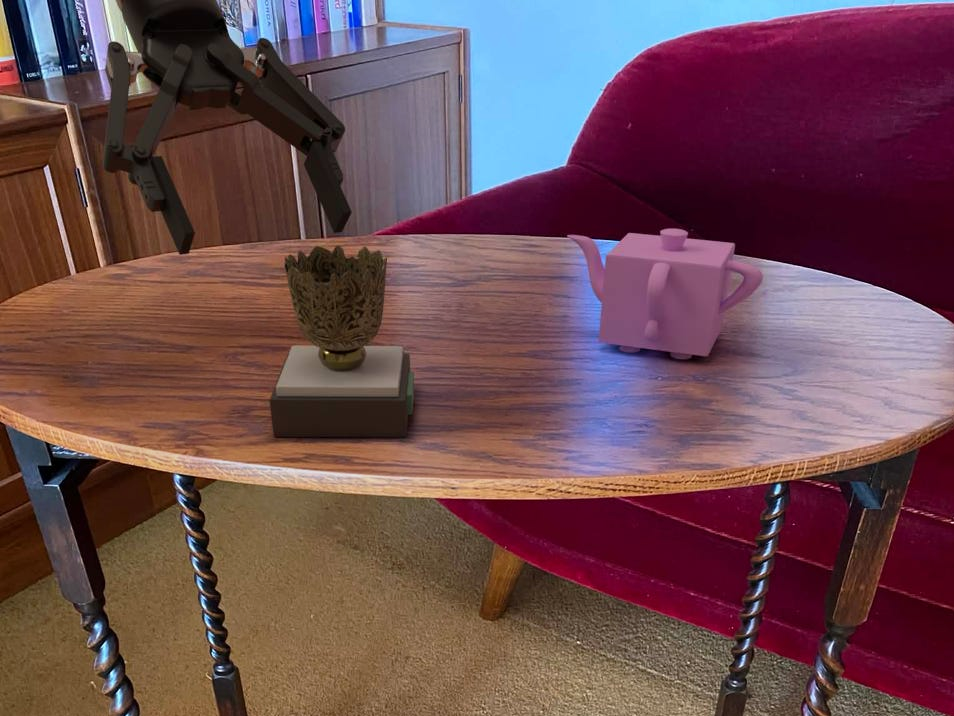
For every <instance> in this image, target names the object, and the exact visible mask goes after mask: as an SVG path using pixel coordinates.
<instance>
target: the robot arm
mask: <svg viewBox="0 0 954 716" xmlns="http://www.w3.org/2000/svg"><path fill="white" fill-rule="evenodd" d="M115 3H116V5H117V7H118V9H119V10H120V12H121V14H122V15H121V16H122V19H123V21H124V24H125V27H126V29H127V31H128V34H129V35H130V38H131V39H132V42H133V44H134V46H135V49H136V51H126V50H125V47H124V45H123V44H121V43H120V42H119V41H110V42H108V44H107V51H106V58H105V68H104V71H105V75H106V79H107V81H108V84H109V88H110V96H109V97H110V98H109V105H108V114H107V122H106V130H105V139H104V147H103V155H102V163H101V164H102V168H103V169H104V171H106V172H107V173H110V174H116V173H118V172H119V171H121V172H124V173H125V172H126V173H127V179H128V181H129V182H130V183H131V184H133V185H135V186H137V187H138V190H139V192H140V194H141V196H142V199H143V201H144V203H145V206H146V207H147V209H148V210H149V211H150V212H151V213H156V212H160V214H161V215H162V218H163V220H164V223H165V225H166V227H167V229H168V231H169V234H170V236H171V238H172V241H173V243H174V246H175V248H176V250H177V252H178V254H179V256H181V255H182V256H183V255H189V254H190V253H191V252H190V251H191V249H192V244H193V241H194V237H195V235H196V232H195V229H194V227H193V225H192V222H191V220H190V217H189V216H188V214H187V211H186V209H185V206H184V204H183V202H182V200H181V198H180V195H179V193H178V191H177V190H178V189H177V188H176V186H175V184H174V181H173V179H172V177H171V175H170V172H169V170H168V167H167V165H166V163H165V161H164V159H163V156H162V155H157V156H155V153H156V152H157V149H158V147H159V145H160V143H161V140H162V138H163V137H164V134H165V132H166V130H167V127H168V125H169V123H170V120H172V118H173V116H174V114H175V112H176V110H177V108H178V105H181V106H184V107H186V108H188V110H189V111H199V110H201V109H205V108H211V109H226V107H227V106H228V107H230V108H231V109H233V110H234V111H235V112H237V114H240V115H243V116H245V115H248V116H250V117H251V118H252V119H253V120H255V121H256V122H258V123H259V124H261V125H262V126H264V128H267V129H268V130H269V131H271V132H272V133H274V134H275V135H276V136H278V137H279V138H280V139H282V140H283V141H285V142H286V143H288V144H289V145H290V146H292V147H293V148H294V149H296V150H297V151H299V152H300V153H301V154H303V155H305V156H306V158H305V160H304V163H303V166H304V169H305V171H306V173H307V175H308V178H309V180H310V182H311V184H312V187H313V189H314V192H315V193H316V194H315V195H316V196H317V198H318V200H319V202H320V204H321V207H322V209H323V212H324V214H325V216H326V218H327V220H328V222H329V225H330V227H331V230H332V232H333V234H336V233H338V234H339V233H342V232H343V231H344V229H345V227H346V225H347V223H348V221H349V219H350V217H351V215H352V213H353V212H352V208H351V207H350V205H349V202H348V200H347V197H346V196H345V193H344V191H343V189H342V187H341V186H342V184H343V181H344V173H343V171H342V169H341V166H340V164H339V162H338V160H337V158H336V155H335V153H336V152H337V150H338V148H339V145H340V143H341V141H342V139H343V136H344V135H345V133H346V127H345V125H344V123H342V121H340V119H339V118H338V117H337V116H336V115H335V114H334V113H333V112H332V111H331V110H330V109H329V108H328V107H327V106H326V105H325V104H324V103H323V102H322V101H321V100H320V99H319V97H317V96H316V95H315V94H314V93H313V91H312V90H311V89H309V87H307V85H306V84H305V83H303V81H302V80H301V79H300V78H299V77H298V76H297V75H296V74H295V73H294V72H293V70H291V69H290V68H289V67H288V66H287V65H286V64H285V63H284V62H283V61H282V59H281V57H280V56H279V54H278V52H277V51H276V49H275V48H274V45H273V43H272V42H271V41H270V39H268V38H265V37H260V38H259V39H258V40H257V43H256V46H253V47H246V48H240V46H239V45H238V44H237V43H235V42H234V39H232V38H231V36H230V33H229V30H228V25H227V22H226V20H225V15H224V14H223V11H222V10H221V7H220V4H219V2H218V0H115ZM140 73H142V75H143V76H144V77H145V78H146V80H148V81H149V82H151V83H152V84H153V85H155V86H156V87H157V88H158V92H157V93H156V96H155V98H154V100H153V102H152V105H151V107H150V108H149V111H148V114H147V115H146V117H145V119H144V122H143V124H142V126H141V128H140V131H139V132H138V135H137V137H136V138H135V141H134V143H133V145H132V146H131V145H128V144H124V138H125V137H124V136H125V130H126V129H125V128H126V121H127V120H126V118H127V109H128V102H129V93H130V87H131V86H132V84H134V83H135V82H136V81H137V78H138V74H140ZM239 83H240V84H241V86H242V90H241V93H240V94H239V93H238V92H236V91H237V88H238V85H239Z"/></svg>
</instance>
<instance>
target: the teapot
mask: <svg viewBox="0 0 954 716" xmlns="http://www.w3.org/2000/svg"><path fill="white" fill-rule="evenodd" d="M688 235H689V232H688V231H686V230H684V229H680V228H664V229H662V230H660V235H655V234H643V233H634V232H628V233H627V234H626V235H625V236H624V237H623V238H622V239H620V241H619V242H618V243H617V244H616V245H615V246H613V248H612V249H611V250H610V251H609V252H607V254H606V255H605V259H604V260H605V263H604V264H603V261H602V257H601V253H600V250H599V247H598V246H597V244H596V243H595V241H594V240H593V239H592V238H591V237H588V236H584V235H579V234H567V235H566V236H567V238H568V239H570V240H572V241H573V242H574V243H575V244H577V245H578V246H579V247H580V249H581V250H582V252H583V255H584V258H585V261H586V265H587V269H588V270H587V271H588V279H589V282H590V286H591V289H592V292H593V294H594V295H595V297H596V299H597V300H598V301H599V302H600V303H601V308H600V319H599V329H598V330H599V332H598V341H597V342H598V343H602V344H610V345H616V346H619V350H620V351H621V352H624V353H638V352H640V351H641V349H647V350H655V351H662V352H669V356H670V357H671V358H673V359H676V360H689V359H691V358H692V357H693V356H694V355H695V356H701V357H709V355H710V353H711V351H712V349H713V346H714V344H715V343H716V341H717V339H718V337H719V334H720V332H721V331H722V328H723V322H724V318H725V312H726V311H728V310H731V309H732V308H733V307H735V306H737V305H738V304H740V303H742V302H743V301H745V300H746V299H748V298H749V297H750V296H752V295H753V294H754V293H755V292H756V291H757V290H758V289H759V287H760V286H761V284H762V282H763V279H764V275H763V272H762V271H761V269H760V268H758V267H756V266H754V265H752V264H749V263H746V262H742V261H737V260H734V255H735V248H736V244H735V243H734V242H725V241H718V240H717V241H716V240H706V239H696V238H688ZM732 272H734V273H738V274H740V275H741V276H742V277H743V279H742V282H741V284H740V285H739V286H738V287H737V288H736V289H735V290H734V292H733V293H731V295H730V296H728V292H729V286H730V281H731V280H730V279H731V273H732Z"/></svg>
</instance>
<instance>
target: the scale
mask: <svg viewBox="0 0 954 716" xmlns="http://www.w3.org/2000/svg"><path fill="white" fill-rule="evenodd" d="M364 348H365V351H366V358H365V360H364V362H363V364H362V365H361V366H359V367H357V368H354V369H350V370H333V369H329V368H327V367H325V366H324V365H322V363H321V361H320V359H319V357H318V352H319V347H317V346H315V345H292V346H291V348H290V350H289V352H288V353H287V355H286V357H285V360H284V363H283V364H282V367H281V369H280V372H279V375H278V377H277V380H276V383H275V385H274V387H273V390H272V393H271V395H270V398H269V400H268V401H269V407H270V408H269V410H270V416H271V423H272V433H273V437H274V438H407V434H408V433H407V432H408V421H409V415H413V411H414V398H415V372H414V371H411V356H410V355H411V354H410V353H404V346H402V345H365V346H364Z"/></svg>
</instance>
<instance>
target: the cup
mask: <svg viewBox="0 0 954 716" xmlns="http://www.w3.org/2000/svg"><path fill="white" fill-rule="evenodd" d="M357 253H358V254H357V256H356V258H355V257H354V255H350V256H349V255H347V257H346V255H345V249H344V248H343V247H341V246H340V245H336V246H334V248H333V249H332V251H331V250H330V249H328V248H325V247H323V246H319V245H315V246H314V247H313V248H312V250H311V251H310V253H309V254H308V255H307V254H306V253H305V252H303V251H301V249H299V250H298V251H297V259H296V256H294V255H293V254H289V255H287V256H285V257H284V263H283V264H284V265H283V267H284V271H285V274H286V279H287V284H288V290H289V294H290V299H291V304H292V308H293V311H294V315H295V319H296V322H297V325H298V328H299V330H300V331H301V333H302V335H303V336H304V337H305V339H306V340H307V341H308V342H309V343H310V344H312V346H317V347H319V352H318V357H319V359H320V361H321V363H322V365H324V366H325V367H327V368H329V369H333V370H350V369H354V368H357V367H359V366H361V365H362V364H363V362H364V360H365V358H366V351H365V348H364V346H368V345H369V343H371V342H372V341H373V340H374V339H375V338H376V336H377V335H378V333H379V330H380V328H381V325H382V320H383V314H384V305H385V294H386V293H385V291H386V280H387V279H386V276H387V265H388V257H385V258H384V256H383V254H382V251H381V250H379V249H377V250H376V251H373V252H370V250H369V248H368V247H367V246H363V247H362V248H360V249H359V250H358V252H357Z"/></svg>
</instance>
